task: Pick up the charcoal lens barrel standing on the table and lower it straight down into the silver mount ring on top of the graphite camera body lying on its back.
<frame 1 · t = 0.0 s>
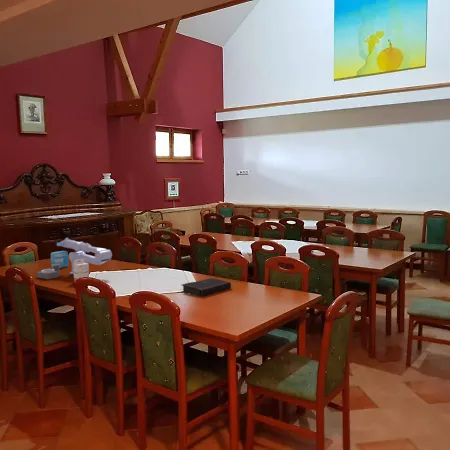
hand: (58, 241, 344), 22 cm above the table, tool horizontal, fingers open, 7 cm apart
camera body: (48, 277, 324), on the table
data package: (60, 267, 359), on the table
diary: (206, 291, 281), on the table
lens: (56, 273, 336), on the table
ink cartridge box: (81, 281, 309), on the table
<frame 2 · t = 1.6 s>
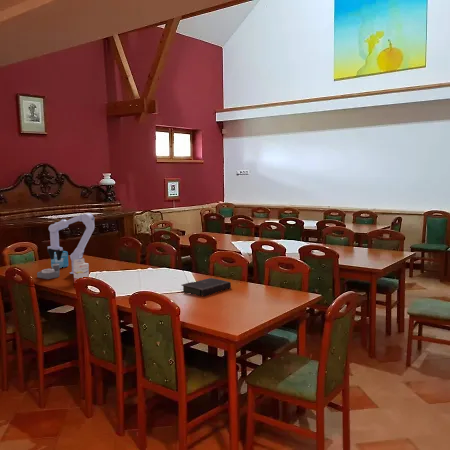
hand: (55, 259, 335), 10 cm above the table, tool pointing down, fingers open, 7 cm apart
nothing on the table moved.
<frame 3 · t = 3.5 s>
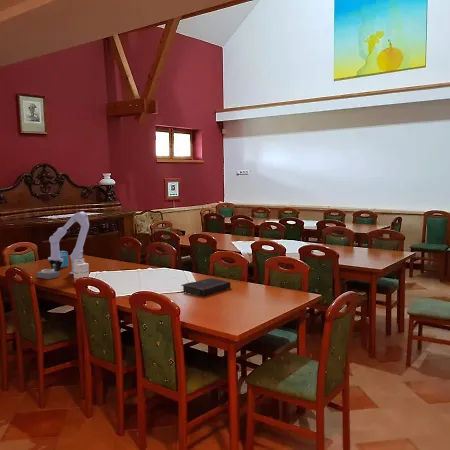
hand: (56, 270, 336), 2 cm above the table, tool pointing down, fingers closed on lens, 4 cm apart
lens: (56, 273, 336), on the table, touching gripper
everything else where it was.
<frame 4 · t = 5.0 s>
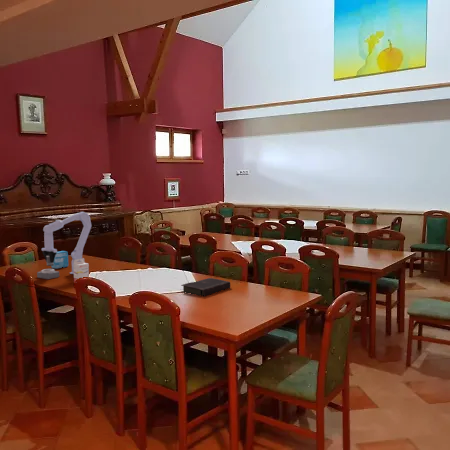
hand: (49, 261, 327), 10 cm above the table, tool pointing down, fingers closed on lens, 4 cm apart
lens: (50, 265, 327), point 8 cm above the table, touching gripper
everything else where it was.
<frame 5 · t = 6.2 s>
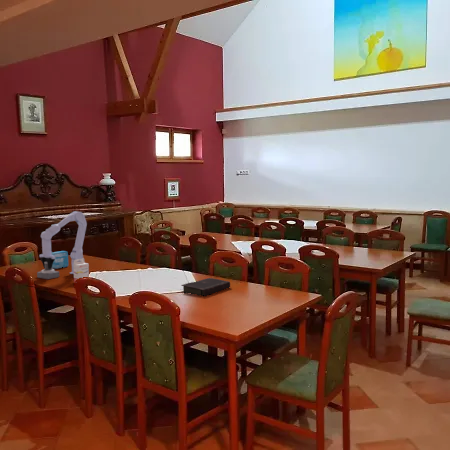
hand: (47, 268, 323), 6 cm above the table, tool pointing down, fingers closed on lens, 4 cm apart
lens: (48, 271, 324), point 4 cm above the table, touching gripper
everything else where it was.
when the fingers open (6 cm above the table, at t = 7.0 s): lens stays where it is, resting on camera body.
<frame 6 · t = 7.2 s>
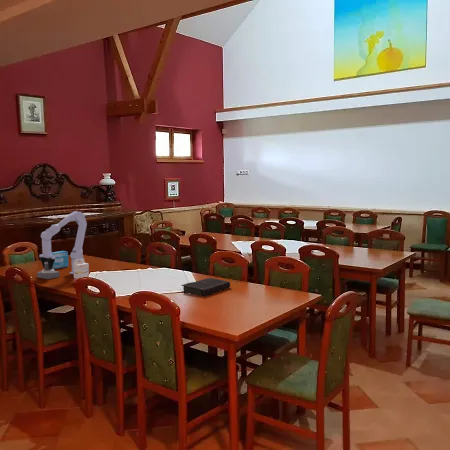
hand: (47, 268, 323), 6 cm above the table, tool pointing down, fingers open, 6 cm apart
lens: (48, 271, 324), point 4 cm above the table, touching camera body
everything else where it was.
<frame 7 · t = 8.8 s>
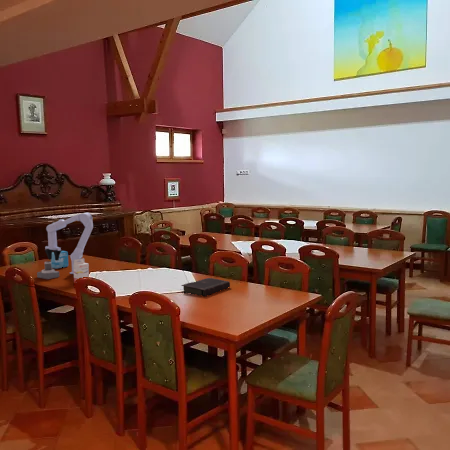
hand: (53, 259, 335), 10 cm above the table, tool pointing down, fingers open, 7 cm apart
nothing on the table moved.
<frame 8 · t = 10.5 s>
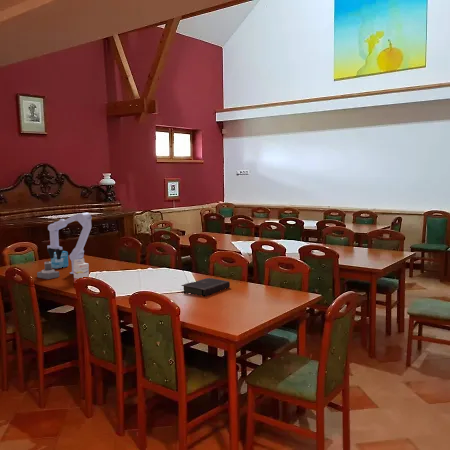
hand: (55, 258, 339), 10 cm above the table, tool pointing down, fingers open, 7 cm apart
nothing on the table moved.
at the end: lens 0.2 cm off-centre on the camera body, point 3.6 cm above the camera body's base; lens tilted 0°; the gripper is holding nothing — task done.
